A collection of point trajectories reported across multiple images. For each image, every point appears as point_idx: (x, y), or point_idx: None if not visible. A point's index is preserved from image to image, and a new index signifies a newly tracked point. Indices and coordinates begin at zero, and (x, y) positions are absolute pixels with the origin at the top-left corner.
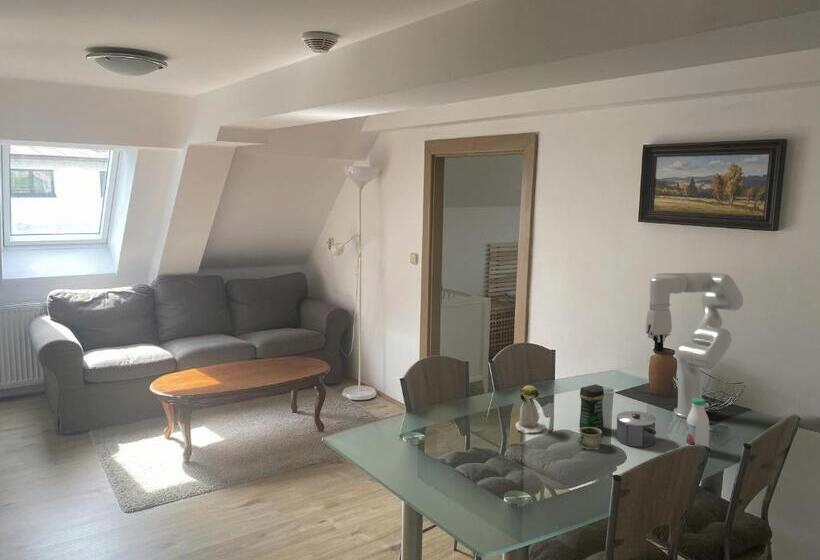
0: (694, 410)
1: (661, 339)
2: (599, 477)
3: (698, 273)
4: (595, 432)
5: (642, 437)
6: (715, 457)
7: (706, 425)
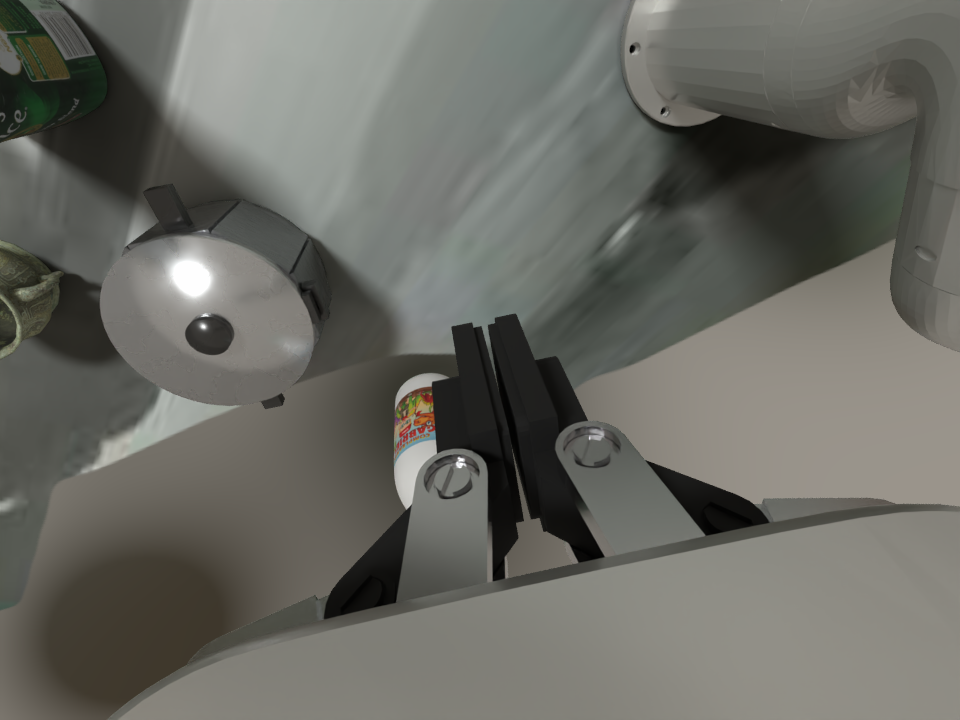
0: None
1: (571, 541)
2: (28, 490)
3: None
4: (2, 279)
5: None
6: None
7: None
